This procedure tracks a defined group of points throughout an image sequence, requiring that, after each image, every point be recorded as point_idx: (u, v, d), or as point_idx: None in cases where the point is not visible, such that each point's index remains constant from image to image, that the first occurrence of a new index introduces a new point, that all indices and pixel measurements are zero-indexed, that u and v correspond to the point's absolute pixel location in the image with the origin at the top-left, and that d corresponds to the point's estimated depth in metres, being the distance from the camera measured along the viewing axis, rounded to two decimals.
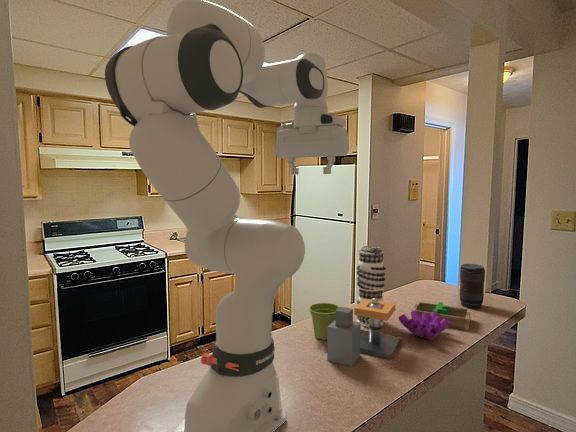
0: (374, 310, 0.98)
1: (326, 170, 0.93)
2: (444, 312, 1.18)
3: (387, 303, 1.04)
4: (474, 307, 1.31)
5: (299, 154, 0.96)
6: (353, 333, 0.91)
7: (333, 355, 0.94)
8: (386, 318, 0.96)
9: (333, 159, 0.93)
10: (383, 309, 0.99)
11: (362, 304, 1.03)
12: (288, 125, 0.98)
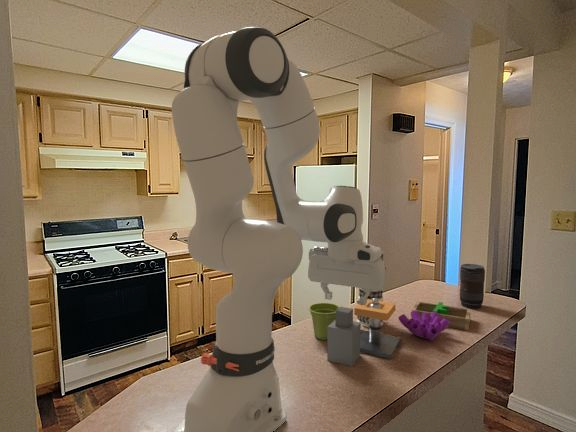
0: (374, 310, 0.98)
1: (362, 302, 0.91)
2: (444, 312, 1.18)
3: (387, 303, 1.04)
4: (474, 307, 1.31)
5: (334, 282, 0.94)
6: (353, 333, 0.91)
7: (333, 355, 0.94)
8: (386, 318, 0.96)
9: (369, 292, 0.91)
10: (383, 309, 0.99)
11: None
12: (321, 250, 0.96)
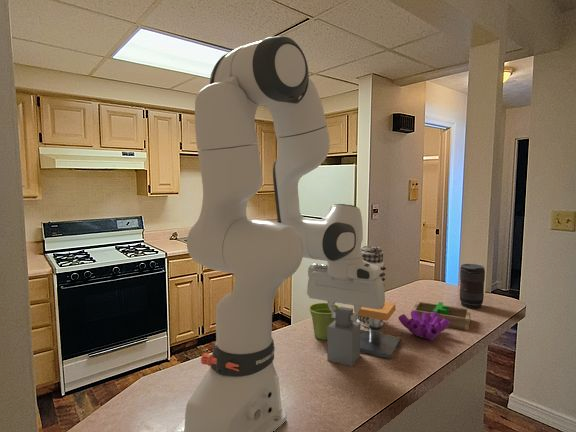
0: (374, 310, 0.98)
1: (352, 318, 0.93)
2: (444, 312, 1.18)
3: (387, 303, 1.04)
4: (474, 307, 1.31)
5: (333, 300, 0.94)
6: (353, 333, 0.91)
7: (333, 355, 0.94)
8: (386, 318, 0.96)
9: (359, 308, 0.92)
10: (383, 309, 0.99)
11: None
12: (321, 267, 0.96)
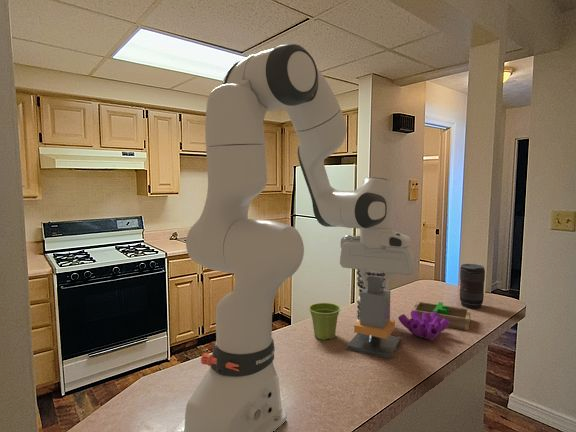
0: (374, 328, 0.99)
1: (384, 285, 0.99)
2: (444, 312, 1.18)
3: None
4: (474, 307, 1.31)
5: (365, 268, 1.00)
6: (385, 298, 0.98)
7: (365, 319, 1.00)
8: (386, 336, 0.96)
9: (391, 275, 0.99)
10: None
11: None
12: (353, 238, 1.03)
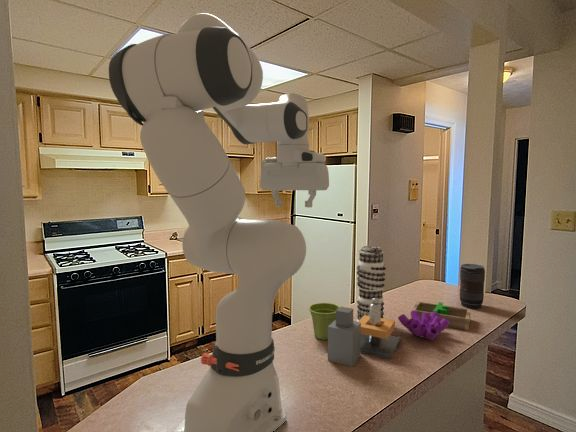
0: (374, 328, 0.99)
1: (307, 204, 0.98)
2: (444, 312, 1.18)
3: (387, 320, 1.04)
4: (474, 307, 1.31)
5: (282, 188, 1.01)
6: (353, 333, 0.91)
7: (333, 355, 0.94)
8: (386, 336, 0.96)
9: (314, 194, 0.98)
10: (383, 327, 0.99)
11: (362, 321, 1.03)
12: (272, 159, 1.03)
